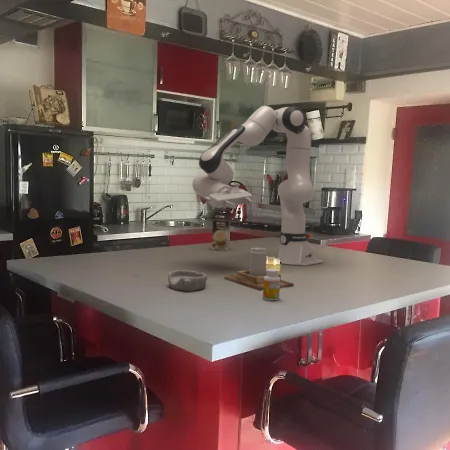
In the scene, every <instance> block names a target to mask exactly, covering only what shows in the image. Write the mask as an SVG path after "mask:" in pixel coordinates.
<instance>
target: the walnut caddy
mask: <svg viewBox="0 0 450 450" xmlns="http://www.w3.org/2000/svg"><path fill="white" fill-rule="evenodd" d="M266 275H267V274H266ZM277 276H278V277H280V289H283V287H284V288H289V287H290V288H291V287H294V285H295V284H294V283H293V282H290V281H285V280H282V279H281V276H282V274H280V273H278V275H277ZM264 277H265V276H260V277H255V276H252V275H249V269H248V270H240V271H237V270H236V274H232V275H225V276H224V278H223V279H224V280H228V281H230V282H234V283H237V284H239V285H241V286H245V287H248V288H251V289H254V290H257V291H263V284H264Z"/></svg>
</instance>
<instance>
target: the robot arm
mask: <svg viewBox="0 0 450 450" xmlns="http://www.w3.org/2000/svg"><path fill="white" fill-rule="evenodd" d="M270 132H273V133H276V134H280V133H281V134H285V136H286V139H287V142H286V151H285V153H286V154H285V163H284V164H285V165H284V166H285V168H286V172H287V173H286V174H287V179H285V180H283V181H281V182H280V184H279V185H278V187H277V194H278V196H279V203H280V210H281V231H280V232H279V242H280V243H279V248H278V252H277V253H278V254H277V258H279V259H280V261H281V263H280V264H283V265H292V266H293V265H296V266H303V267H306V266H311V265H316V264H320V263H323V260H322V259H320V258H319V257H318V250H317V249H316V247H315V246H314V245H312V244H311V243H310V242H309V241H308V239H311V238H312V234H311V233H307V234H306V220H307V219H306V218H307V217H306V213H305V211H304V207H303V206H304V205H303V204H305V203H308V202H309V201H311V200H312V199H313V198H314V195H315V189H314V186H313V184H312V178H311V171H310V169H311V168H310V163H311V153H312V152H311V149H312V137H311V136H312V135H311V134H312V133H311V129H310V128H309V127H308V126H307V123H306V116H305V113H304V111H303V109H302V108H300V107H298V106H295V105H294V106H285V107H280V108H278V109H273V108H272V107H271V106H268V105H262V106H260V107H259V108H257V109H256V110H255V111H254V112H253V113H252V114H251V115H250V116H249V117H248V119H246V121H245V122H244V123H242V124H237V125H235V126H233V127H232V128H230V129H229V130H227V132H226V133H225V134H224V135H222V137H220V138H219V139H218V140H217V141H216V142H215V143H214V144H213V145H211V146H210V147H209V148H207V149H206V150H204V152H202V153H201V155H200V156H199V159H198V166H199V168H200V169H201V170H202V171H203V172H204V174H199V175H196V176H195V177H194V178H193V180H192V189H193V191H194V192H195V193H196V194H197V195H199V196H200V197H202V198H204V200H206V201H207V203H208V204H209V205H211V206H212V207H214V208H216V209H220V208H231V209H237V208H238V207H237V206H241V205H246V204H247V206H249V207H252V206H254V201H253V194H252V193H250V192H249V191H246V190H244V189H242V188H240V187H239V186H238V185H233V184H232V185H230V184H231V182H232V180H233V178H234V170H233V169H232V167H231V166H230V165H229V163H227V161H226V160H225V158H224V155H225V154H226V152H227V151H229V149H230V148H232V146H234V144H236V143H238V142H240V143H241V144H244V145H246V146H249V147H251V146H252V147H254V146H255V147H256V146H258V145H260V143H262V142H263V141H264V140H265V139H266V137H267V136H268V135H269V133H270ZM277 258H276V259H277Z"/></svg>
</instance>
